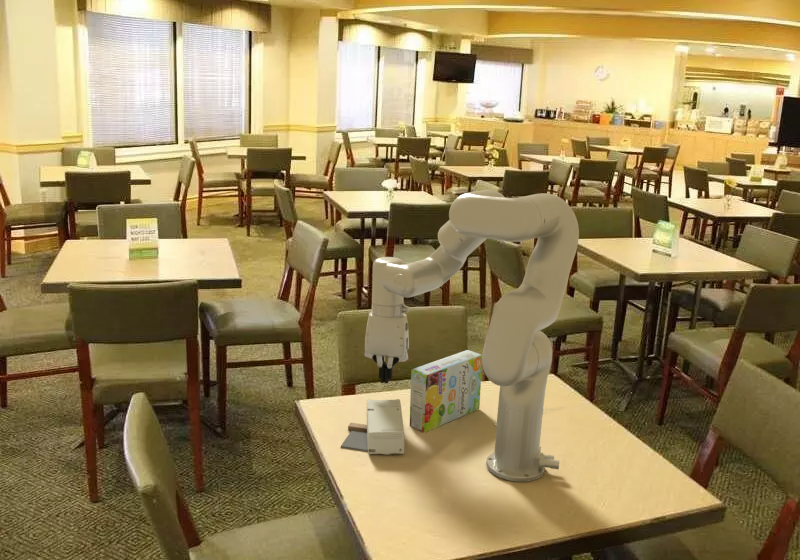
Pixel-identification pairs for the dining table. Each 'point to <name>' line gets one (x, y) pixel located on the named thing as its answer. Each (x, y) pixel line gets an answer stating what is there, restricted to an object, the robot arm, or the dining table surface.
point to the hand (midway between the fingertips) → (385, 381)
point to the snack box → (445, 390)
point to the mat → (357, 441)
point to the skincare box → (385, 427)
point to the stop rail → (357, 427)
